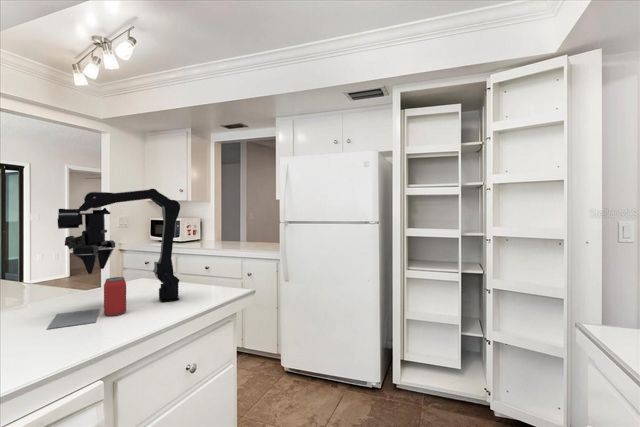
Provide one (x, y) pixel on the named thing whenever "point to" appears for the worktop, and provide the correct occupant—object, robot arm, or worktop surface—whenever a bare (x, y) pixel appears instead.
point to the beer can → (114, 296)
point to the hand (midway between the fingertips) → (96, 271)
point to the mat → (74, 318)
